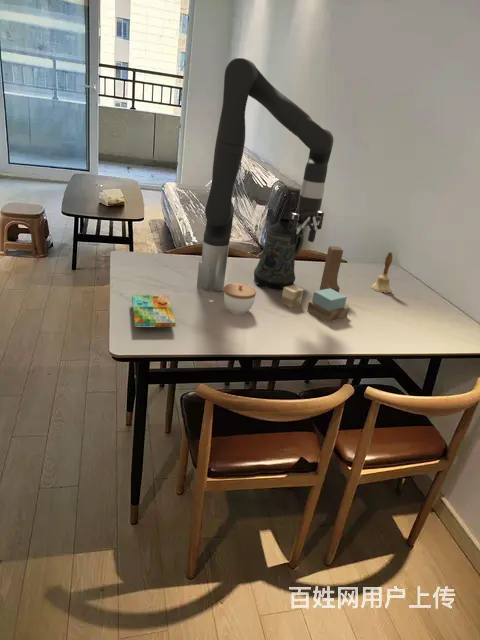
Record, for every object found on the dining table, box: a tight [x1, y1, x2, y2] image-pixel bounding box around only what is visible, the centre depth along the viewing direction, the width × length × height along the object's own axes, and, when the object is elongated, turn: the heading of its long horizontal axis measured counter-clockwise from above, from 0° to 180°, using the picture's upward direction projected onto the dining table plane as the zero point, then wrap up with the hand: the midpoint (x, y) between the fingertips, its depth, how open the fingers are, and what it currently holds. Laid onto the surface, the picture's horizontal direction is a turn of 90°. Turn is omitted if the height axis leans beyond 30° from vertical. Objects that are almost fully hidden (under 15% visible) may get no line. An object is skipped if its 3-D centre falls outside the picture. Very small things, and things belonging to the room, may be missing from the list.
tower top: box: [311, 288, 348, 311], centre depth 165 cm, size 8×8×4 cm
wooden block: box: [319, 245, 344, 293], centre depth 181 cm, size 9×4×18 cm, turn 9°
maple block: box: [280, 284, 304, 308], centre depth 171 cm, size 5×5×6 cm
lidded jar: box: [223, 282, 257, 315], centre depth 159 cm, size 11×11×9 cm
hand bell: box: [370, 251, 393, 294], centre depth 194 cm, size 8×8×16 cm
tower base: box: [306, 300, 350, 323], centre depth 167 cm, size 10×10×4 cm
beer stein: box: [253, 218, 304, 291], centre depth 185 cm, size 16×19×25 cm
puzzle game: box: [131, 294, 177, 328], centre depth 147 cm, size 12×5×20 cm
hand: (302, 242), depth 162 cm, fingers open, 8 cm apart
